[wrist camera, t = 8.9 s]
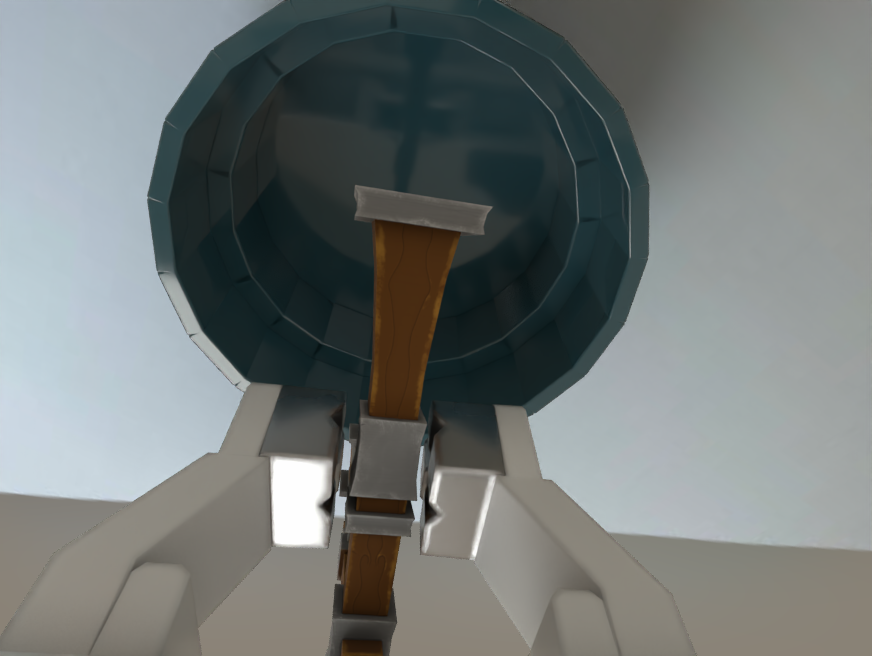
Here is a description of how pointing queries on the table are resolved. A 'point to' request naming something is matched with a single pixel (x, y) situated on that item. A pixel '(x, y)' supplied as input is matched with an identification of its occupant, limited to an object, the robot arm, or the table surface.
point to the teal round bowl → (408, 173)
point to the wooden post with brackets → (391, 405)
